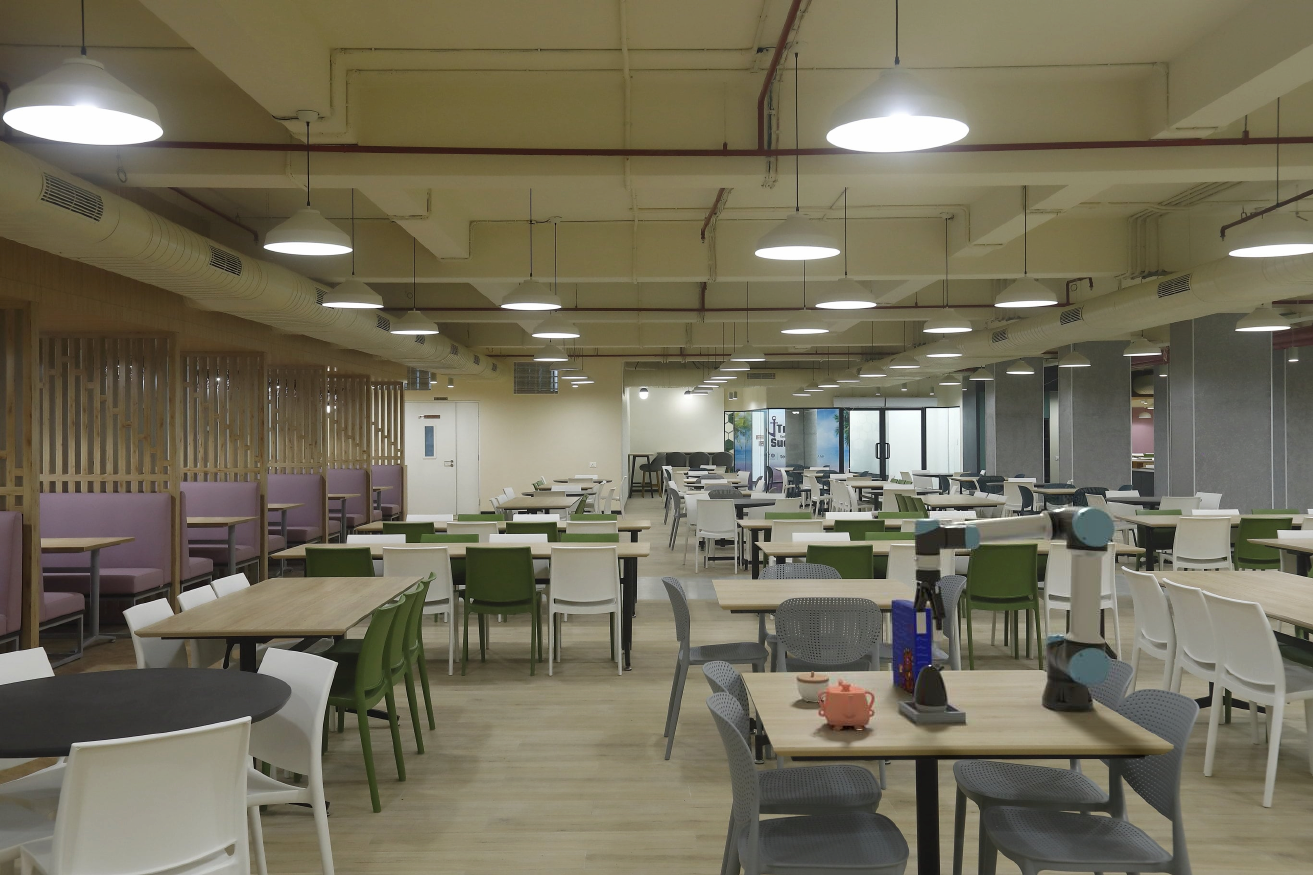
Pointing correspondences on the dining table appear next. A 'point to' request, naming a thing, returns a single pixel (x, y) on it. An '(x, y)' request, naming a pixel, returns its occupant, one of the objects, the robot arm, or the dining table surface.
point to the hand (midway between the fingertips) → (929, 636)
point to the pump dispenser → (930, 690)
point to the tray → (932, 714)
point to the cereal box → (909, 644)
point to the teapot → (846, 705)
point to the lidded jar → (812, 685)
